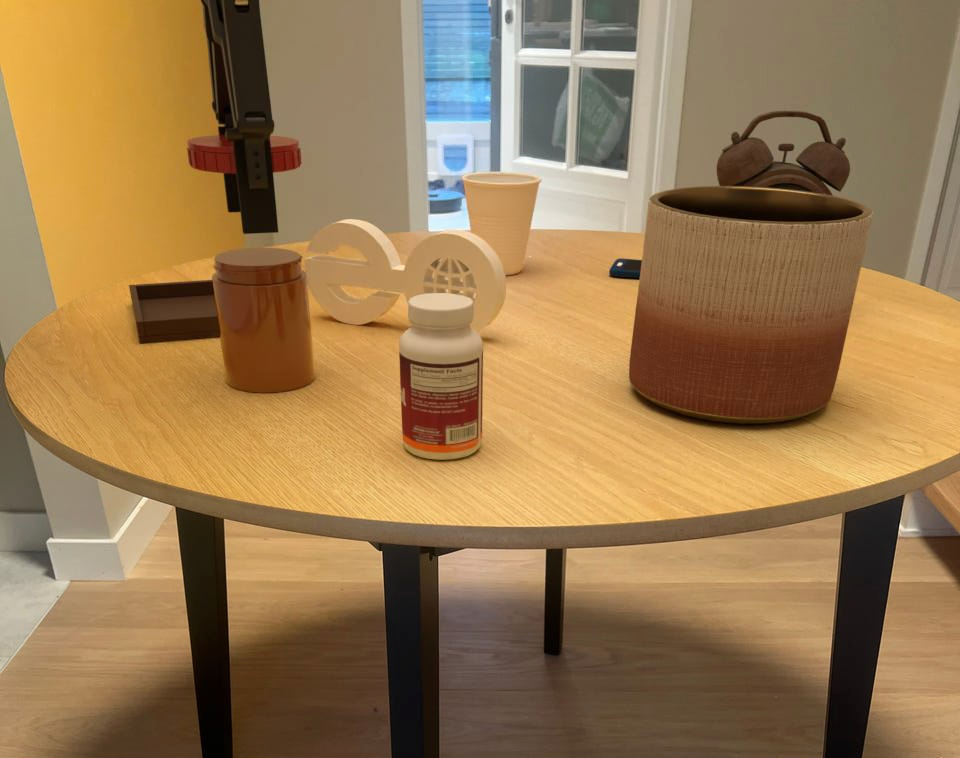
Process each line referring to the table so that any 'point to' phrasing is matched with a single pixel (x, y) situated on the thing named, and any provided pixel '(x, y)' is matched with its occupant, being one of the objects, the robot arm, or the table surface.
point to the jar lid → (220, 157)
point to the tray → (174, 310)
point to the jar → (263, 319)
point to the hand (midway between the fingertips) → (251, 221)
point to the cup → (502, 212)
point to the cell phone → (626, 268)
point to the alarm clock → (756, 166)
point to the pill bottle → (441, 378)
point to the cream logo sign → (402, 272)
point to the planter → (745, 300)
